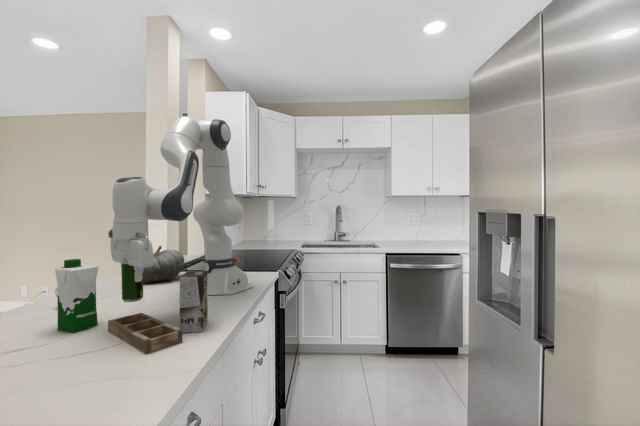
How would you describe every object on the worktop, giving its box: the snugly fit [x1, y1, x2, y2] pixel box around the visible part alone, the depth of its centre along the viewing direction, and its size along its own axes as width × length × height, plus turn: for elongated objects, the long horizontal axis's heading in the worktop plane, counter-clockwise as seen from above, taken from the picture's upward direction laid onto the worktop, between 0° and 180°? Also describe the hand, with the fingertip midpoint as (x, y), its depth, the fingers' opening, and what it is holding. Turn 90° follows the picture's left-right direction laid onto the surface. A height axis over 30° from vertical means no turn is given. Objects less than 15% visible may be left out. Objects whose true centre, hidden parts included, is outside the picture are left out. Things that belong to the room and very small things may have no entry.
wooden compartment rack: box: [107, 312, 183, 355], centre depth 90 cm, size 9×24×3 cm, turn 52°
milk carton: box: [54, 258, 100, 334], centre depth 97 cm, size 9×9×20 cm
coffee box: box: [179, 270, 209, 334], centre depth 97 cm, size 9×6×16 cm
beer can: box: [120, 259, 144, 303], centre depth 95 cm, size 5×5×12 cm
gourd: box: [143, 245, 185, 284], centre depth 161 cm, size 25×25×17 cm
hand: (132, 279), depth 95 cm, fingers closed on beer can, 5 cm apart
